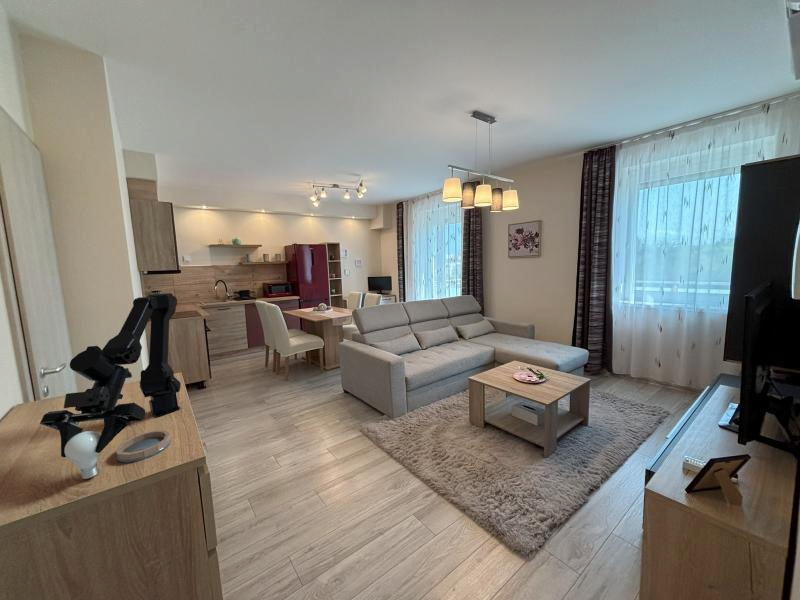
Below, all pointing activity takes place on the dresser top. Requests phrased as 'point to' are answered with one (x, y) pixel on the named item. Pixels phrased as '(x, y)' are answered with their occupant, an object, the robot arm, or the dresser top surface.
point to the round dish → (143, 446)
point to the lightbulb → (84, 452)
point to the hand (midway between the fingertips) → (80, 454)
